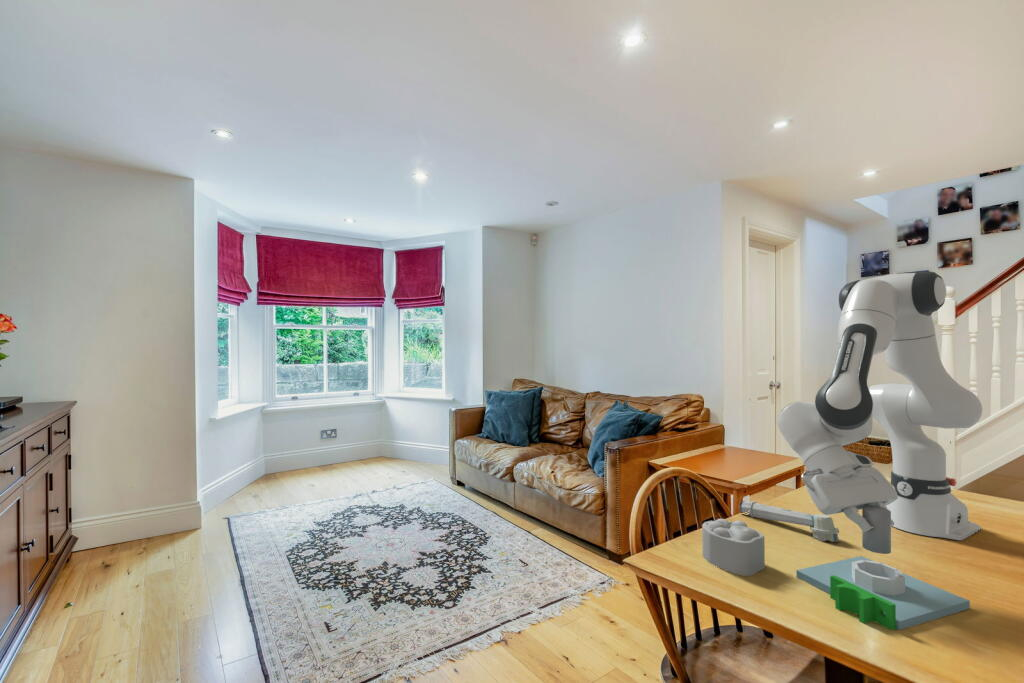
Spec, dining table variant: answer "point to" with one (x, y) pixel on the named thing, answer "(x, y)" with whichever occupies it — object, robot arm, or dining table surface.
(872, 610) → the pipe clamp
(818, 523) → the angled head handheld tool
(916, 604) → the duct base
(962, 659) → the dining table surface
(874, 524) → the gray domed peg
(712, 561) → the lumpy-topped squat cylinder
